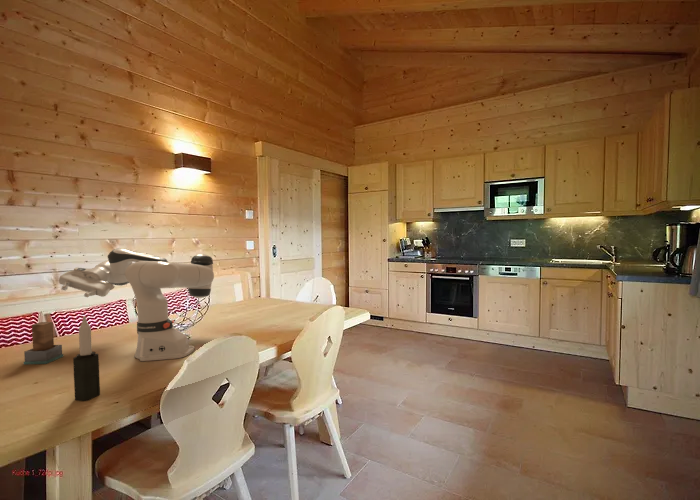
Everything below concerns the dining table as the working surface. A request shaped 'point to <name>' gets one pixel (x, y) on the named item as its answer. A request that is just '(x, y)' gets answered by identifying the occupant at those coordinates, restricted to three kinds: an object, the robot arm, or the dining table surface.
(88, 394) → the candle
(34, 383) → the dining table surface
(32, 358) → the keeper collar
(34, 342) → the link block
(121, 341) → the dining table surface
